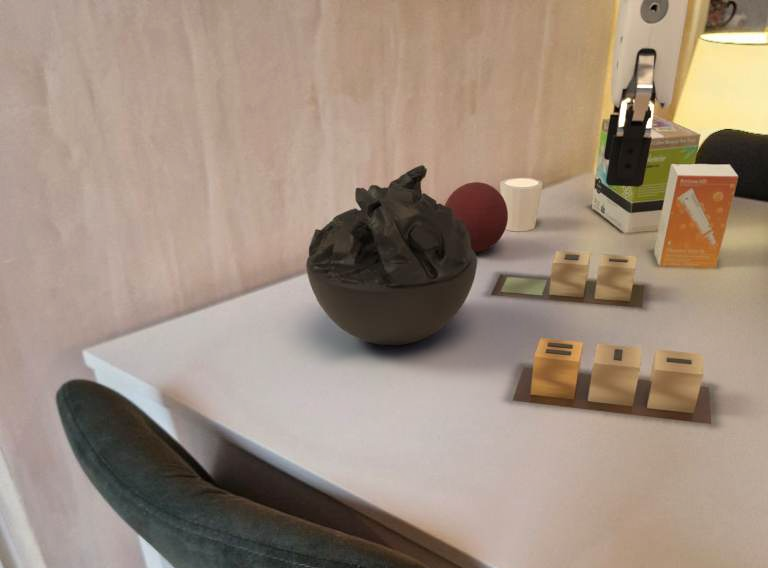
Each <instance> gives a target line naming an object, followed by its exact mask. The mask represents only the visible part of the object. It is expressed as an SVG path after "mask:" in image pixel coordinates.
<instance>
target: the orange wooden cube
mask: <svg viewBox="0 0 768 568" xmlns="http://www.w3.org/2000/svg"><path fill="white" fill-rule="evenodd" d="M583 348H584V342H583V341H574V340H565V339H564V340H563V339H554V338H553V339H552V338H543V337H540V338H539V341H538V344H537V346H536V350H535V354H534V356H533V366H532V368H533V375H532V385H531V395H538V396H547V397H555V398H564V399H572V400H574V397H575V393H576V388H577V383H578V377H579V373H580V369H581V364H582V363H581V362H582V356H583Z"/></svg>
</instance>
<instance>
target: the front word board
mask: <svg viewBox="0 0 768 568" xmlns="http://www.w3.org/2000/svg"><path fill="white" fill-rule="evenodd" d="M642 350H643V349H642V347H635V346H626V345H625V346H624V345H615V344H614V345H613V344H603V343H596V347H595V352H594V357H593V363H592V370H591V374H590V373H582V372H579V377H578V383H577V388H576V393H575V397H574V400H572V399H564V398H555V397H547V396H538V395H531V385H532V375H533V367H528V366H523V368H522V370H521V374H520V377H519V380H518V382H517V385H516V389H515V391H514V395H513V397H512V402H520V403H521V402H522V403H529V404H537V405H545V406H555V407H564V408H571V409H579V410H588V411H596V412H605V413H614V414H620V415H629V416H631V415H632V416H638V417H646V418H656V419H663V420H672V421H680V422H690V423H696V424H697V423H698V424H706V425H712V412H711V399H710V398H711V397H710V387H709V386H705V385H704V386H703V385H702V382H703V378H704V361H703V359H704V358H703V354H702V353H698V352H697V353H695V352H685V351H674V350H664V349H655V351H654V355H653V361H652V366H651V370H650V375H649V380H648V379H639V378H640V377H639V376H640V371H641V364H642Z"/></svg>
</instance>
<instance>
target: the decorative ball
mask: <svg viewBox="0 0 768 568" xmlns="http://www.w3.org/2000/svg"><path fill="white" fill-rule="evenodd" d="M444 206H446V207H449V208H452V210H453V215H454V216H453V217H454V218H455V219H458V220H460V221H462V222H463V223H464V224H465V225H466V229H467V230H468V231H469V233H470V242H471V249H472V250H473V251H474V252H475V253H479V252H484V251H487V250H488V249H491V248H492V247H493V246H494V245H496V244H497V243H498V242H499V241H500V240H501V238H502V237H503V235H504V233H505V231H506V226H507V221H508V211H507V206H506V203H505V200H504V198H503V197H502V195H501V194H500V191H499V190H497V188H495V187H494V186H493V185H490V184H488V183H486V182H481V181H480V182H479V181H474V182H468V183H465V184H463V185H461V186H459V187H457V188H456V189H454V191H453V192H451V194H450V195H449V196H448V198H447V200H446V202H445V203H444Z"/></svg>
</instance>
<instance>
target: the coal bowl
mask: <svg viewBox="0 0 768 568" xmlns="http://www.w3.org/2000/svg"><path fill="white" fill-rule="evenodd" d="M427 171H428V169H427V168H426V167H425V165H424V164H420V165H418V166H416V167H413V168H412V169H410V170H408V171H406V172H404V174H401V175H400V176H399V177H398V178H396V179H394V180H392V181H391V182H390V183H389V185H388V186H387V187H385V186H384V187H381V186H379V185H378V184H371V185H370V186H369V187H368V189H366V188H364V187H356V188H355V192H354V198H355V199H354V200H355V202H356V204H357V206H358V207H359V208H360V209H358V208H355V207H354V208H351V209H349V210H346V211H344V212H341V213H339V214H337V215H336V216H334V217H333V218H332V220H331V221H329V223H327V224H326V225H325V226H324V227H322V228H321V229H318V228H316V229H315V230H314V231H313V236H312V237H311V241H310V244H309V246H308V257H307V260H306V263H305V264H306V265H305V268H306V274H307V278H308V282H309V285H310V288H311V290H312V292H313V294H314V296H315V298H316V300H317V302H318V305H320V307H321V309H322V310H323V311H324V313H325V314H326V315H327V316H328V318H329V319H331V321H332V322H333V323H334V324H336V325H337V326H338V327H339V328H340V329H342V330H343V331H345V332H346V333H347V334H349V335H350V336H353V337H355V338H357V339H358V340H361V341H363V342H364V341H365V342H367V343H370V344H373V345H374V344H375V345H379V346H380V345H381V346H401V345H407V344H408V345H409V344H412V343H416V342H418V341H421V340H424V339H426V338H428V337H430V336H432V335H434V334H435V333H437V332H438V331H440V330H441V329H443V327H445V326H447V324H448V323H449V322H451V320H453V318H454V317H455V316H456V315H457V313H459V311H460V310H461V308H462V306H463V305H464V304H465V302H466V300H467V299H468V297H469V294H470V292H471V289H472V287H473V284H474V282H475V277H476V273H477V267H478V258H477V254H476V252H474V251H473V250H472V249H471V242H470V233H469V231H468V230H467V229H466V225H465V224H464V223H463V222H462V221H460V220H458V219H455V218H454V217H453V216H454V215H453V210H452V208H449V207H446V206H445V204H442V203H437V200H436V199H434V198H433V197H432V196H429V195H428V194H427V193H425V192H423V191H422V181H423V179H424V178H426V176H427Z"/></svg>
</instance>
